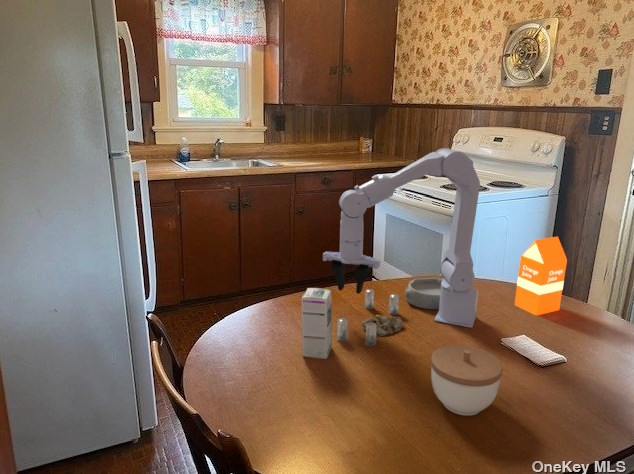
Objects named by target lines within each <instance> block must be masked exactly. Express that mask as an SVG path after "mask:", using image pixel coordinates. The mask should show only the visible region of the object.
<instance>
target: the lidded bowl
mask: <svg viewBox="0 0 634 474" xmlns="http://www.w3.org/2000/svg"><path fill="white" fill-rule="evenodd" d="M430 364H431V365H430V366H431V367H430V368H431V369H430V378H431V379H430V381H431V385H432V389H433V392H434V393H435V396H436V397H437V399H438V400H439V401H440V402H441V403H442V404H443V406H444V408H445V409H447V410H448V411H449V412H451V413H454V414H456V415H459V416H463V417H466V416H468V417H469V416H474V415H477V414H479V413H481V411H484V410H485V409H487V408H488V407H490V405H492V403H493V402H494V400H495V399H496V396H497V395H498V392H499V388H500V385H501V384H500V383H501V377H502V376H503V365H502V363H501V361H500V360H499V359H498V358H497V357H496V356H495V355H493V354H492V353H490V352H488V351H486V350H484V349H483V348H478V347H475V346H470V345H464V344H463V345H462V344H449V345H444V346H441V347H439V348H437V349H435V350H434V351H433V352H432V354H431V358H430Z"/></svg>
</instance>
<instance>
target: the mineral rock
mask: <svg viewBox="0 0 634 474" xmlns="http://www.w3.org/2000/svg"><path fill="white" fill-rule="evenodd" d="M367 323H375V324H376V325H377V330H376V336H379V337H383V336H387V335H391V334H392V335H393V334H394V333H397V332H400V331H401V329H402V328H404V320H402V318H401V317H399V316H390V315H389V316H382V315H380V314H375V316H374V318H373V317H369V318H367V319H365V320H363V321H361V324H362V329H363V330H365V331H366V324H367Z"/></svg>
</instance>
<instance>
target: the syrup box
mask: <svg viewBox="0 0 634 474" xmlns="http://www.w3.org/2000/svg"><path fill="white" fill-rule="evenodd" d="M300 302H301V344H302V345H301V346H302V347H301V350H302V352H301V353H302V357H306V358H311V359H323V360H327V359H328V357H329V355H330V352H331V348H332V347H333V346H332V342H333V341H332V338H333V337H332V335H333V334H332V329H333V328H332V326H333V325H332V324H333V323H332V321H333V320H332V316H333V315H332V290H331V289H329V288H322V287H307V288H306V290H305V292H304V293H303V294H302V297H301V301H300Z"/></svg>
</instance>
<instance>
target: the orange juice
mask: <svg viewBox="0 0 634 474" xmlns="http://www.w3.org/2000/svg"><path fill="white" fill-rule="evenodd" d="M560 241H561V240H560V239H559V236H553V237H552V236H551V237H546V238H541V239H535V240H534V241H533V242H532V244H531V245H530V246H529V247H528V248H527V249H526V250H525V251H524V252H523V254H521V255H520V261H519V266H518V268H519V269H518V275H517V282H516V291H515V299H514V306H516V307H518V308H520V309H522V310H524V311H526V312H528V313H530V314H532V315H534V316H541V315H544V314H549V313H552V312H557V311H560V307H561V301H562V300H561V299H562V294H563V289H564V283H565V276H566V270H567V263H568V259H567V256H566V253H565V251H564V248H563V246H562V244H561V242H560Z"/></svg>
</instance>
